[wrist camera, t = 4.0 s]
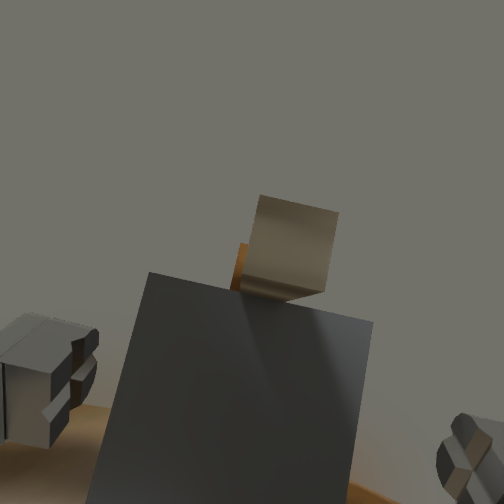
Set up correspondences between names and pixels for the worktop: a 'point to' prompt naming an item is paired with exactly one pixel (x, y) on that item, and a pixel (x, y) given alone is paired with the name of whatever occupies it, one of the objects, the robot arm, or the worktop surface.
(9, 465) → the worktop surface
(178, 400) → the cabinet
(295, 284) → the bar
